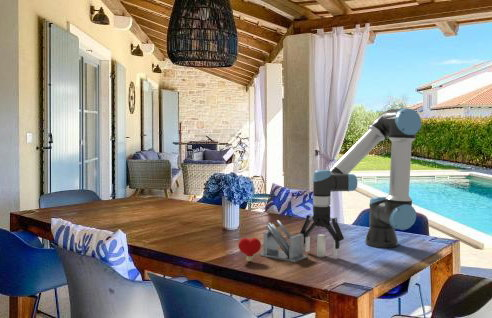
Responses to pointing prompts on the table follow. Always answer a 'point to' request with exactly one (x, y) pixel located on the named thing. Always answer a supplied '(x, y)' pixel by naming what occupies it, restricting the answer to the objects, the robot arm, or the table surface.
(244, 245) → the red heart on stand
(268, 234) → the chute
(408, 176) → the robot arm
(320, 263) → the table surface
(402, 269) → the table surface
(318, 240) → the peg
